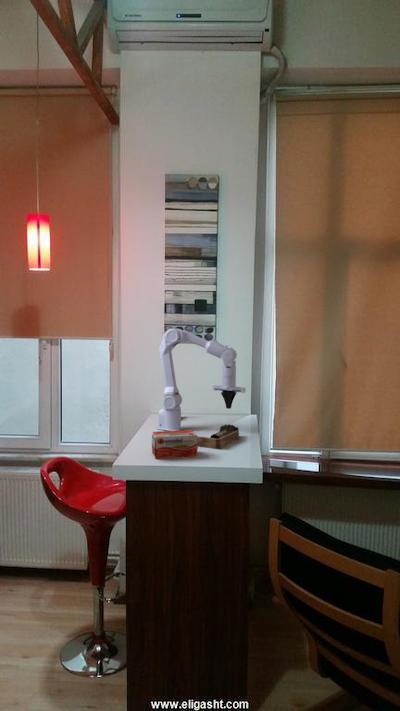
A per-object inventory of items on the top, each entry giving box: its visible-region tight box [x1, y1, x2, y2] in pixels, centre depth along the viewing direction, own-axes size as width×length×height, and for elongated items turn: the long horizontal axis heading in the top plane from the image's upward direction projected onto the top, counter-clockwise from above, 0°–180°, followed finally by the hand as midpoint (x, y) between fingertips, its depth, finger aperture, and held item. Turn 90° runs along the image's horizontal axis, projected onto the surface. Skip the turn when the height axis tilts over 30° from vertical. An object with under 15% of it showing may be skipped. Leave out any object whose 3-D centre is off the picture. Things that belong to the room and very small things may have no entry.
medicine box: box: [151, 429, 199, 460], centre depth 173 cm, size 15×8×8 cm, turn 104°
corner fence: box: [197, 430, 240, 450], centre depth 192 cm, size 13×18×4 cm
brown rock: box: [209, 424, 240, 439], centre depth 195 cm, size 18×7×6 cm, turn 149°
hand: (228, 408), depth 209 cm, fingers closed
